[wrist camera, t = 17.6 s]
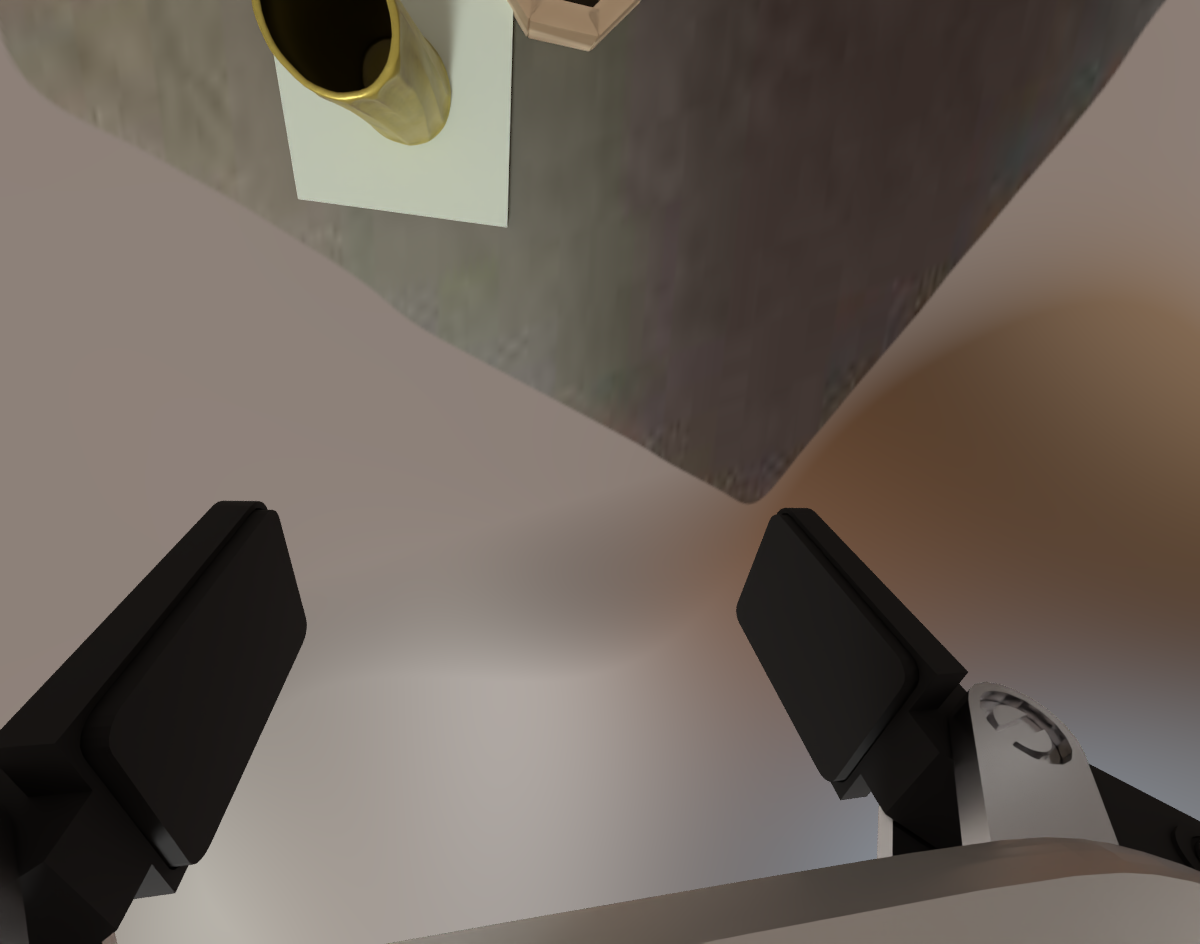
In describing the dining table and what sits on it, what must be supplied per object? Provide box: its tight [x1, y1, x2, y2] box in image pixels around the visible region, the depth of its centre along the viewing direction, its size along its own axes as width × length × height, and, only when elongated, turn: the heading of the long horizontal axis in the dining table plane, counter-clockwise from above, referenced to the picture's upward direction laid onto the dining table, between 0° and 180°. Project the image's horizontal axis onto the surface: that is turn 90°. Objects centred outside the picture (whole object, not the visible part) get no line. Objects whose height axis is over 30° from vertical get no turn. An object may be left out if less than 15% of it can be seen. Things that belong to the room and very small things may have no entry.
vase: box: [251, 0, 451, 146], centre depth 23 cm, size 6×6×14 cm
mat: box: [274, 0, 513, 227], centre depth 30 cm, size 14×14×1 cm
